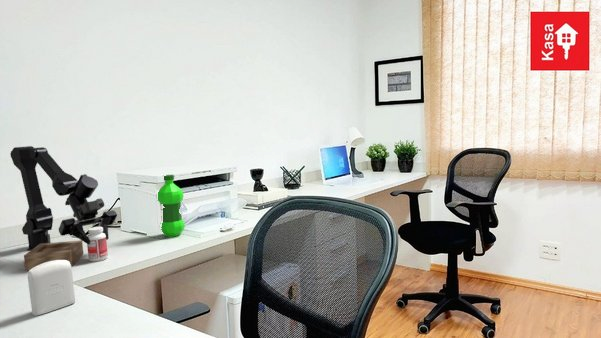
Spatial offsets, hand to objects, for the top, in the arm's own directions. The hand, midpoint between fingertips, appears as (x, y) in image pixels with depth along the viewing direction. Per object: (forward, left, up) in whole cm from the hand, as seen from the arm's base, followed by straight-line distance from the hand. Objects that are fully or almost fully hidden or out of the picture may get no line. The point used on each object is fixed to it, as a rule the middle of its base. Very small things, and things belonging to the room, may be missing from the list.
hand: (98, 241), depth 154 cm
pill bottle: (-1, +1, -7) cm, 7 cm away
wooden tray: (-15, +2, -7) cm, 16 cm away
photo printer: (-2, -40, -7) cm, 41 cm away
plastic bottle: (+22, +26, -7) cm, 35 cm away
